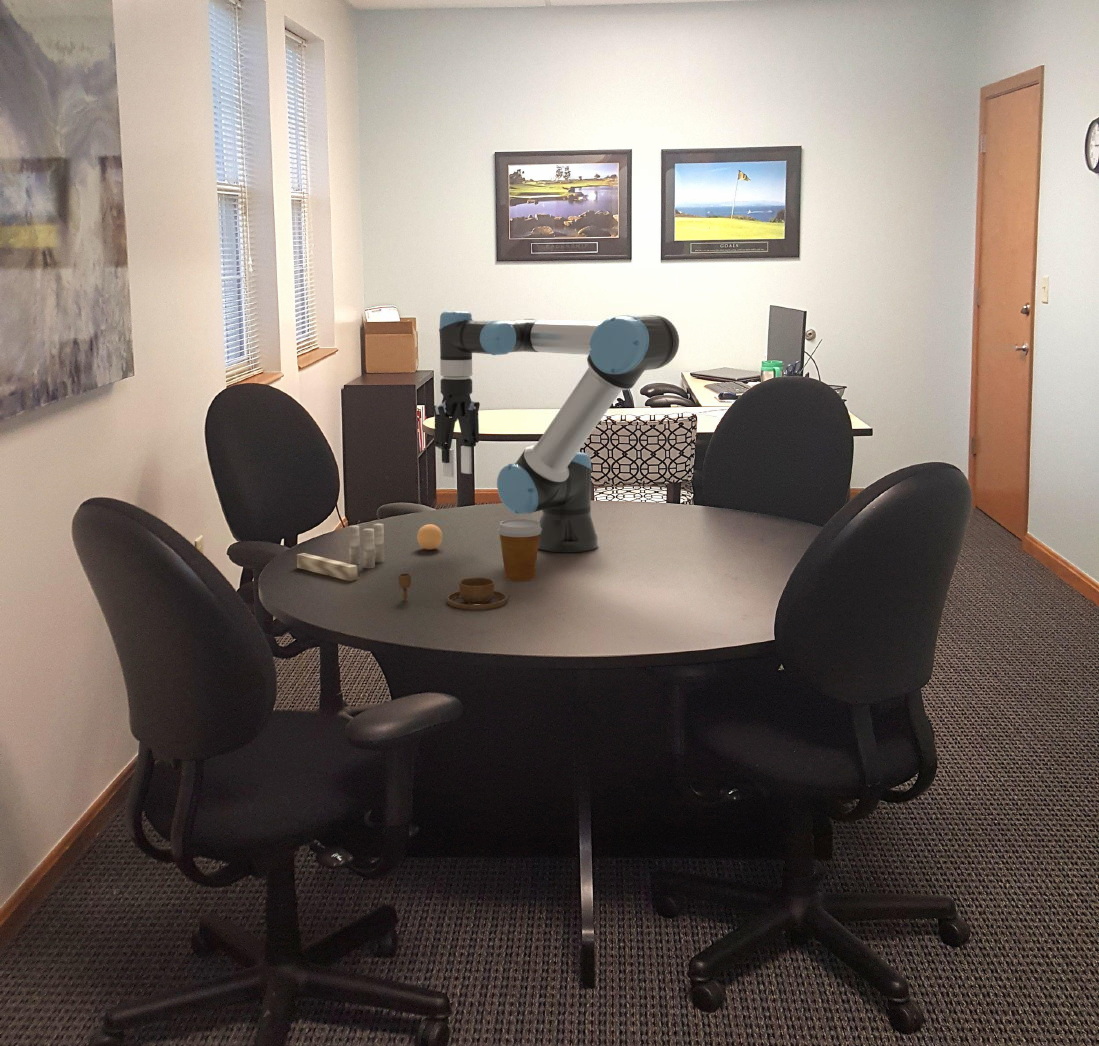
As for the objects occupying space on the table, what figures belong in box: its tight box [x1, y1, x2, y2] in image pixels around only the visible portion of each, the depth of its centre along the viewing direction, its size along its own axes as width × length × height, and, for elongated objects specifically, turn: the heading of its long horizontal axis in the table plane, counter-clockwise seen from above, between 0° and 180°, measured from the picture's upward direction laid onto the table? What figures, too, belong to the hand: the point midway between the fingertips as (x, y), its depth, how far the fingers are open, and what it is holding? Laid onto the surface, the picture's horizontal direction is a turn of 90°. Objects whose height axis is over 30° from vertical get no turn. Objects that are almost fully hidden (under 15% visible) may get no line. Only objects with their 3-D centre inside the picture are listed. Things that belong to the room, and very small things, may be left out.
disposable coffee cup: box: [497, 518, 542, 582], centre depth 254 cm, size 10×10×12 cm
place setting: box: [398, 573, 508, 611], centre depth 238 cm, size 18×20×6 cm
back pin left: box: [362, 528, 376, 569], centre depth 263 cm, size 2×2×8 cm
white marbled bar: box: [296, 552, 358, 582], centre depth 258 cm, size 18×2×3 cm, turn 49°
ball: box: [416, 523, 444, 551], centre depth 281 cm, size 6×6×6 cm
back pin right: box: [347, 524, 361, 566], centre depth 266 cm, size 2×2×8 cm
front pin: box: [372, 523, 385, 564], centre depth 269 cm, size 2×2×8 cm
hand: (457, 474), depth 285 cm, fingers open, 5 cm apart
